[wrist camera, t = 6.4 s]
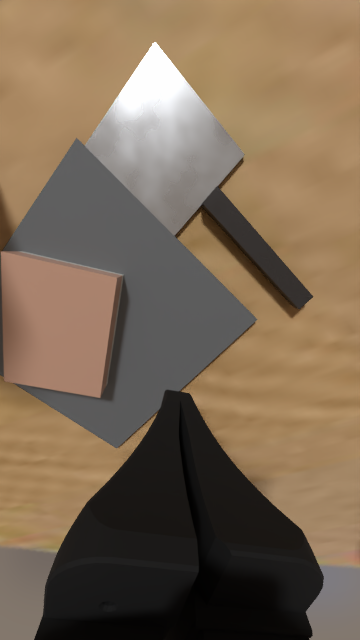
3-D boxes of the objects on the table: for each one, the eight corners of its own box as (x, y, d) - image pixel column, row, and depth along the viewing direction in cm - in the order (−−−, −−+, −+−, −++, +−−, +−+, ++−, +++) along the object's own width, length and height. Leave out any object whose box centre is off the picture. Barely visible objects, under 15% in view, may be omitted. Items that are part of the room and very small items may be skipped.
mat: (117, 444, 22) (116, 448, 22) (-51, 336, 18) (-57, 339, 17) (255, 317, 18) (257, 319, 18) (80, 141, 14) (76, 138, 13)
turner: (333, 269, 17) (343, 270, 16) (266, 328, 18) (271, 333, 17) (155, 46, 12) (153, 27, 11) (86, 148, 14) (79, 139, 13)
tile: (117, 277, 14) (0, 251, 13) (100, 397, 17) (4, 381, 16) (123, 274, 16) (22, 251, 15) (107, 383, 19) (21, 367, 18)
